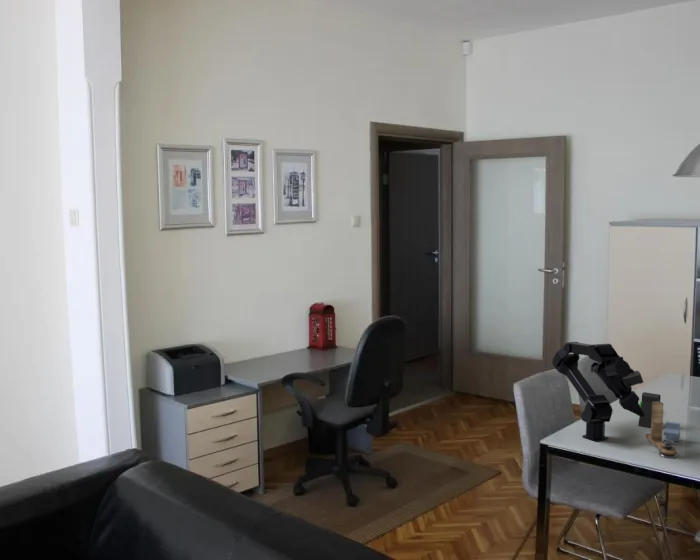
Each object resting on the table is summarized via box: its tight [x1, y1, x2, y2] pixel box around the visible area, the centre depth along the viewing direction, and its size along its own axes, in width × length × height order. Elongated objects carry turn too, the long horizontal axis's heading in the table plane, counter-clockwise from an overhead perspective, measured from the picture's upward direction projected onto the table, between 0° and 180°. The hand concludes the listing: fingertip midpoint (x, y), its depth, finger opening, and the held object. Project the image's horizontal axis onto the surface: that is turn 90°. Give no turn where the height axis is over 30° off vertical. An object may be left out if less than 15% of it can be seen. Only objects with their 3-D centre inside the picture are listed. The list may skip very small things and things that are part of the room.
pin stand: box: [658, 439, 678, 459], centre depth 240 cm, size 6×6×5 cm
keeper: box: [663, 420, 681, 442], centre depth 254 cm, size 7×4×6 cm, turn 150°
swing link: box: [645, 401, 677, 456], centre depth 246 cm, size 18×5×14 cm, turn 179°
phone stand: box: [637, 391, 661, 429], centre depth 273 cm, size 9×6×12 cm, turn 141°
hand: (640, 411), depth 251 cm, fingers open, 9 cm apart
